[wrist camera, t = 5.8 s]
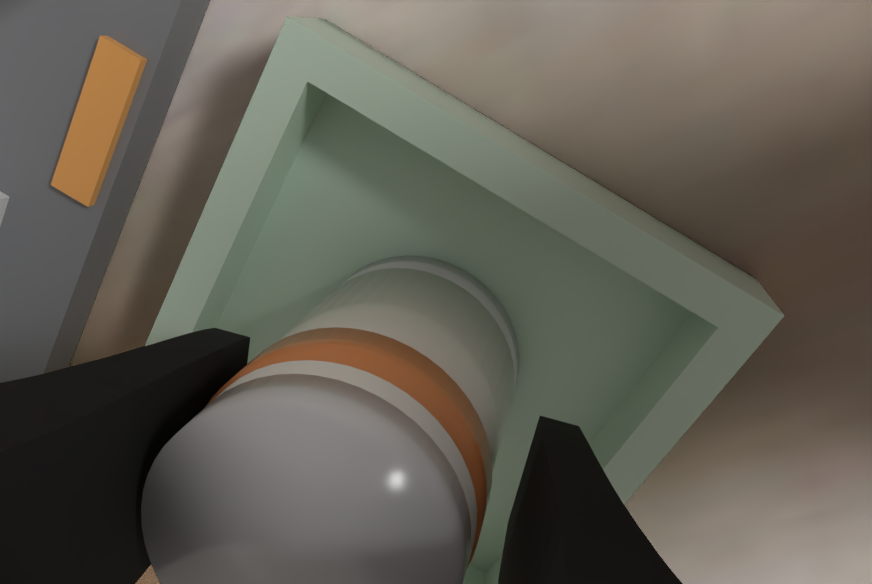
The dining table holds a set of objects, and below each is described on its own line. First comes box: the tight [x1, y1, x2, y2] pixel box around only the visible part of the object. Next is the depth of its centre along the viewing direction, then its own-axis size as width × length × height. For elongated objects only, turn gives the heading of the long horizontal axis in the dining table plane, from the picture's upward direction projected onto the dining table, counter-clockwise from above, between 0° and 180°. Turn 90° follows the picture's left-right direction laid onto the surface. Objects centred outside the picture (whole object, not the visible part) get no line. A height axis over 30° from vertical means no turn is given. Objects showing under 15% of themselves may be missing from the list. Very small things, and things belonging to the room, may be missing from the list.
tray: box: [145, 16, 784, 584], centre depth 14 cm, size 9×9×2 cm
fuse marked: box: [141, 256, 519, 584], centre depth 11 cm, size 4×4×6 cm
